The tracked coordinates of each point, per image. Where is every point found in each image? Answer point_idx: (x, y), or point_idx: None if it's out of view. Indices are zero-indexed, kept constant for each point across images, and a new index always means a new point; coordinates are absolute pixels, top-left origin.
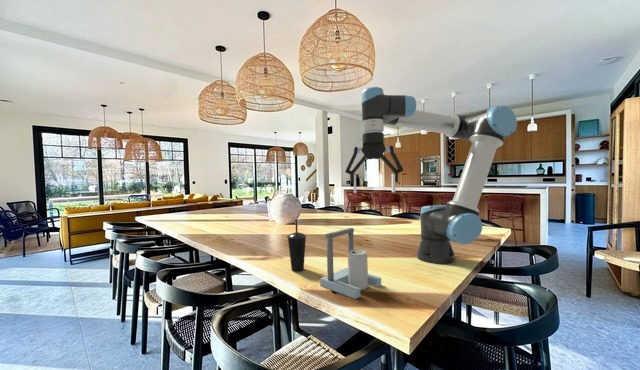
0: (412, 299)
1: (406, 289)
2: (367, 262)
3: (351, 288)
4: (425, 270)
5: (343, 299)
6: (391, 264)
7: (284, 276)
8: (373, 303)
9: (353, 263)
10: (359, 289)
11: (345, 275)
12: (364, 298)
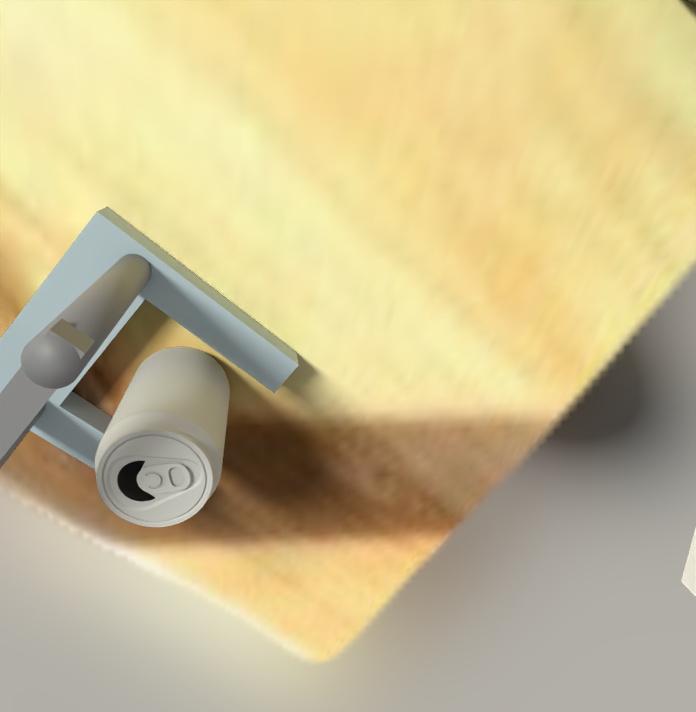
0: (397, 475)
1: (400, 391)
2: (223, 452)
3: None
4: (580, 139)
5: None
6: (414, 10)
7: None
8: (244, 517)
9: (140, 498)
10: None
11: (104, 342)
12: None
